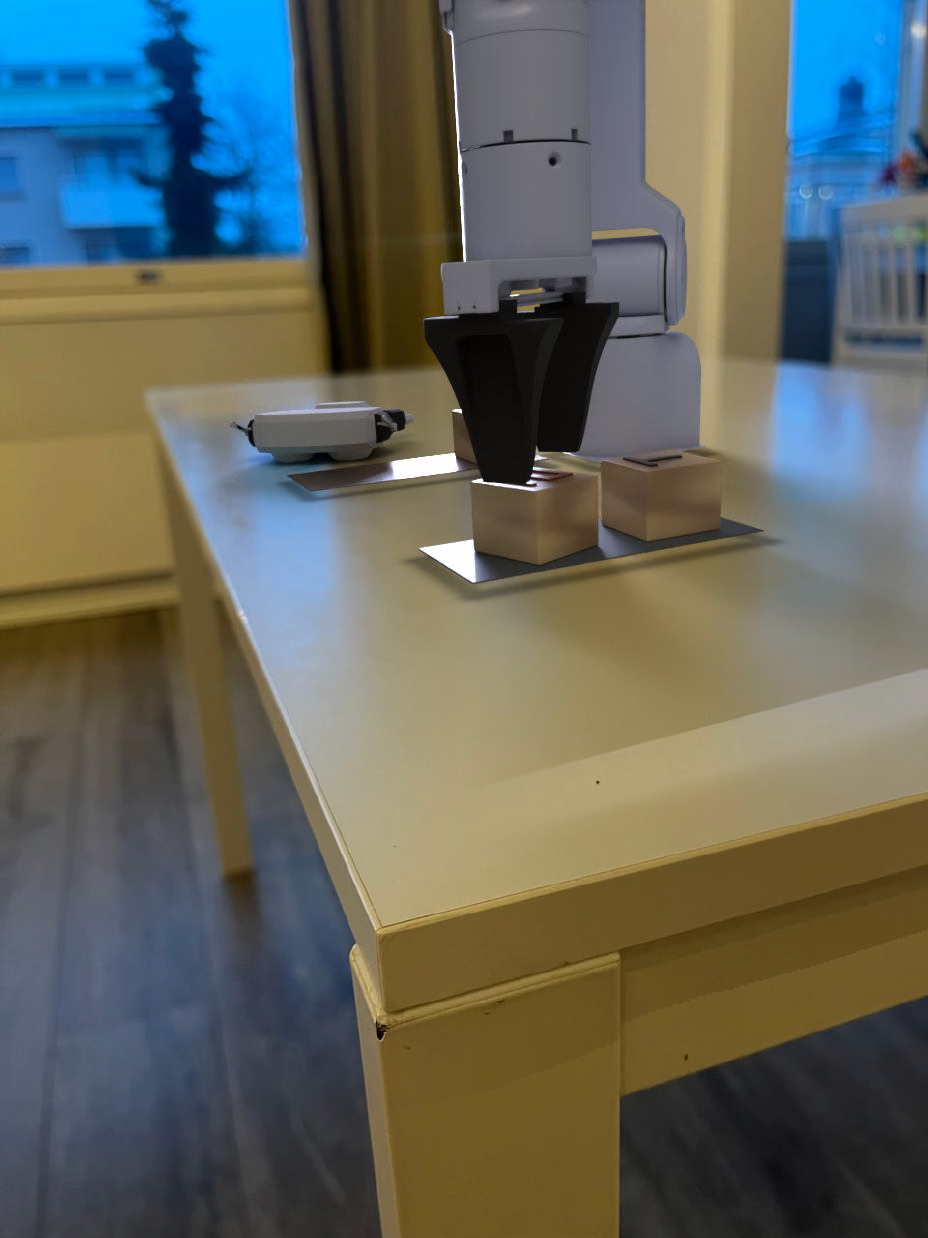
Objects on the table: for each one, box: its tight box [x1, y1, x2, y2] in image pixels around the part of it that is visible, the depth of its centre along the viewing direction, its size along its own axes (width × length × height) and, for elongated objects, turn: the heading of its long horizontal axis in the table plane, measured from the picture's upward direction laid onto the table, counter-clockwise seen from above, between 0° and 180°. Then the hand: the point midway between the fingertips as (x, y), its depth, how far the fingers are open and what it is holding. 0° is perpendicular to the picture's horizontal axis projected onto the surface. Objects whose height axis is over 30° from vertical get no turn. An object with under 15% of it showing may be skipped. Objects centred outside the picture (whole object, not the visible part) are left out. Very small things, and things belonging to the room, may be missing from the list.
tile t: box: [600, 450, 723, 542], centre depth 49 cm, size 4×4×4 cm
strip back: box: [286, 452, 549, 493], centre depth 70 cm, size 18×7×1 cm, turn 113°
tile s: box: [469, 466, 600, 565], centre depth 46 cm, size 4×4×4 cm
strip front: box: [418, 516, 765, 585], centre depth 48 cm, size 16×7×1 cm, turn 113°
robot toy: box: [229, 400, 415, 463], centre depth 79 cm, size 12×4×15 cm
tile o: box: [451, 409, 477, 464], centre depth 71 cm, size 4×4×4 cm
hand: (534, 465), depth 46 cm, fingers open, 7 cm apart
